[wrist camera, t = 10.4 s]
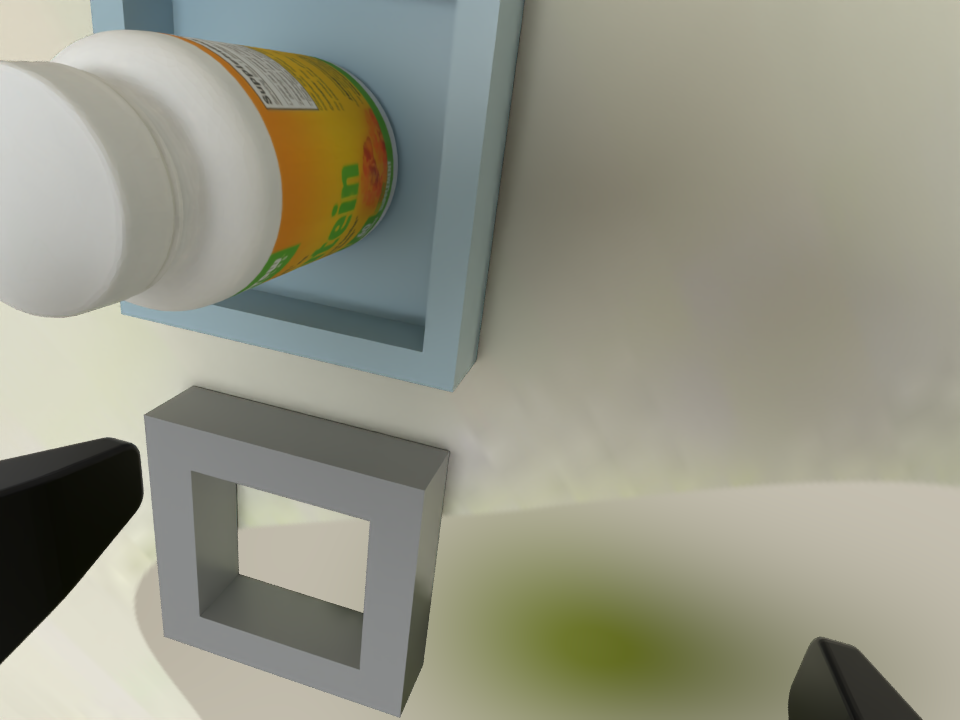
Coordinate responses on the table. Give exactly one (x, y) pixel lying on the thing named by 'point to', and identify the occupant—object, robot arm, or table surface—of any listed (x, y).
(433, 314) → the tray
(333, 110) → the supplement bottle
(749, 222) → the table surface
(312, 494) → the holder
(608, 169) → the table surface
